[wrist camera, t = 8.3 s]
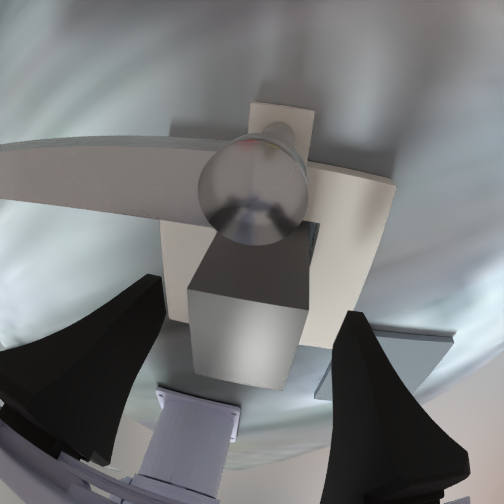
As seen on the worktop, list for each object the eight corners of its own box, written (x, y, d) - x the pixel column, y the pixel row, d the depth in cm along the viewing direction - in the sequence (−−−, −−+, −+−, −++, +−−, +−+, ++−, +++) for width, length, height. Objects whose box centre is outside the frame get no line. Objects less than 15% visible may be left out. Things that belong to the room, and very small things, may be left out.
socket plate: (334, 336, 17) (336, 425, 12) (175, 307, 18) (136, 385, 13) (402, 130, 10) (474, 174, 5) (167, 97, 11) (76, 118, 6)
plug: (292, 295, 16) (282, 390, 11) (226, 284, 16) (194, 373, 11) (308, 218, 13) (308, 310, 8) (231, 206, 13) (186, 288, 8)
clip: (315, 140, 5) (317, 151, 5) (299, 228, 6) (297, 253, 6) (-39, 145, 6) (-56, 154, 6) (-31, 188, 8) (-47, 198, 7)
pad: (402, 398, 20) (403, 403, 20) (314, 393, 21) (314, 398, 20) (452, 337, 16) (454, 342, 15) (347, 327, 16) (348, 333, 16)
